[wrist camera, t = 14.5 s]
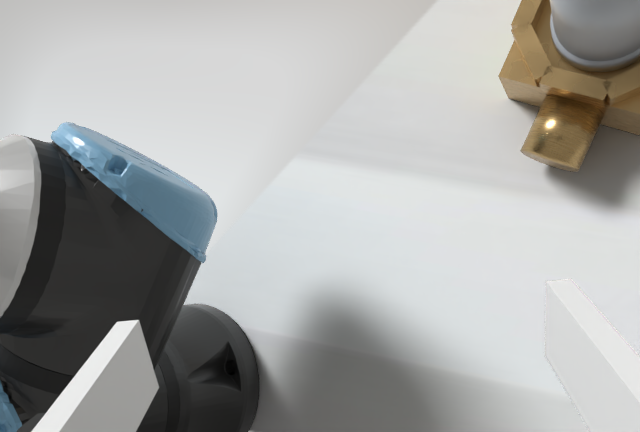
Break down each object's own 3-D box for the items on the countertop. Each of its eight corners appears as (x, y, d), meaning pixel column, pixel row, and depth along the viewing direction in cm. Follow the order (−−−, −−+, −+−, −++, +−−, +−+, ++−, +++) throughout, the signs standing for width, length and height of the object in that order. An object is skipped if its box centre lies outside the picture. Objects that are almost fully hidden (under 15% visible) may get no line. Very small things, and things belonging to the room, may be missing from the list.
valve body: (485, 145, 40) (467, 123, 35) (583, -77, 39) (582, -138, 33) (653, 201, 35) (666, 187, 29) (777, -55, 33) (817, -124, 27)
